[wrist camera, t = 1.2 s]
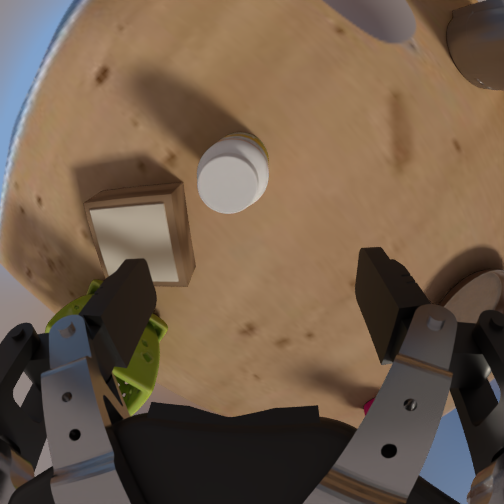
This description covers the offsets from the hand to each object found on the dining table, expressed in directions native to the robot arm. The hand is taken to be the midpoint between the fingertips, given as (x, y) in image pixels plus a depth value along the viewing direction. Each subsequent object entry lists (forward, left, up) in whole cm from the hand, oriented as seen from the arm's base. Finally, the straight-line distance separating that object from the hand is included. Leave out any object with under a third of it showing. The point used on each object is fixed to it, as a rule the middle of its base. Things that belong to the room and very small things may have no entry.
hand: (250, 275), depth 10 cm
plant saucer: (+20, +32, -19) cm, 42 cm away
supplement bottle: (-1, -2, -19) cm, 19 cm away
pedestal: (+6, -13, -19) cm, 24 cm away
